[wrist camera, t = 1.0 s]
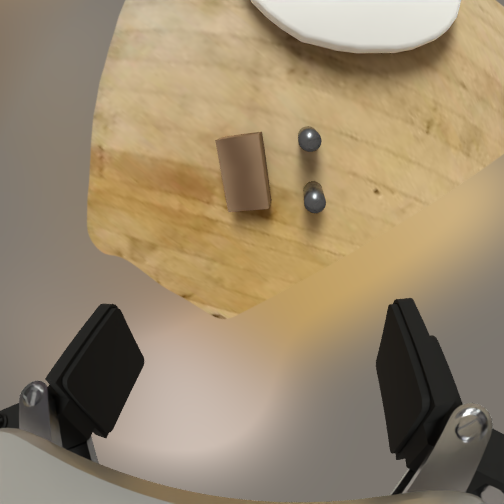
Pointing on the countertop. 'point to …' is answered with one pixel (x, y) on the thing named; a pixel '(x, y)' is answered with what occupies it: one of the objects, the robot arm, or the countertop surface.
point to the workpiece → (244, 172)
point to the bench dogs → (312, 190)
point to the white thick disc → (362, 22)
